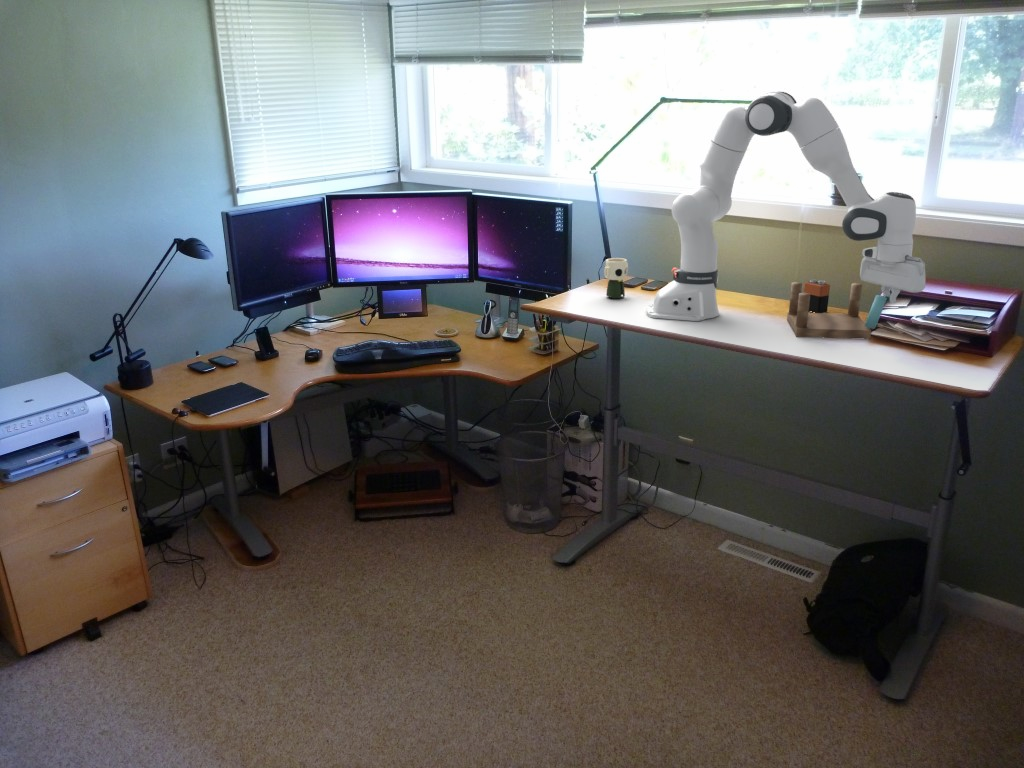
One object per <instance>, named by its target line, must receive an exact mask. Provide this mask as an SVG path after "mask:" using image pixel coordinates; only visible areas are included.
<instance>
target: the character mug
mask: <svg viewBox="0 0 1024 768" xmlns="http://www.w3.org/2000/svg"><path fill="white" fill-rule="evenodd" d="M628 272H629V264H628V259H626V258H620V257H612V258H607V259H605V267H604V269H603V276H604V277H605V278H606V279H607V280H608V282H607V287H606V294H605V296H607V297H609V298H611V299H621V298H622V297H623V298H624V297H625V296H626V295H625V283H624V280H625V279H627V276H628Z"/></svg>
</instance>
